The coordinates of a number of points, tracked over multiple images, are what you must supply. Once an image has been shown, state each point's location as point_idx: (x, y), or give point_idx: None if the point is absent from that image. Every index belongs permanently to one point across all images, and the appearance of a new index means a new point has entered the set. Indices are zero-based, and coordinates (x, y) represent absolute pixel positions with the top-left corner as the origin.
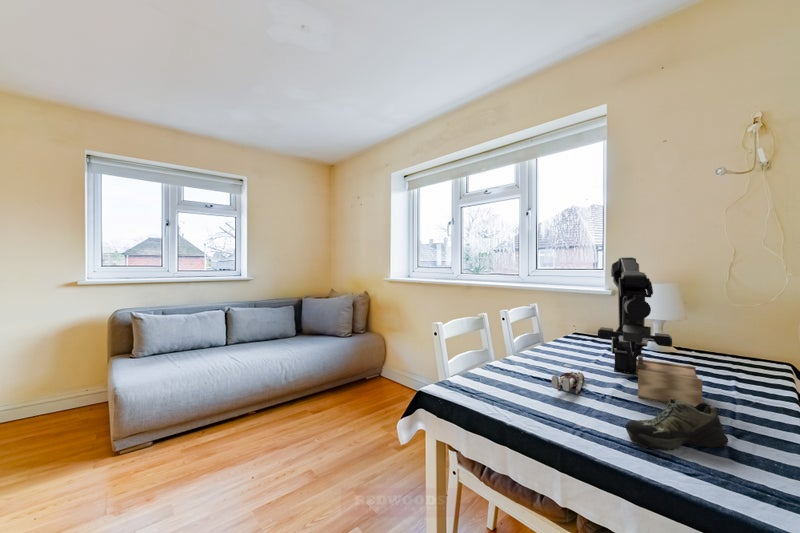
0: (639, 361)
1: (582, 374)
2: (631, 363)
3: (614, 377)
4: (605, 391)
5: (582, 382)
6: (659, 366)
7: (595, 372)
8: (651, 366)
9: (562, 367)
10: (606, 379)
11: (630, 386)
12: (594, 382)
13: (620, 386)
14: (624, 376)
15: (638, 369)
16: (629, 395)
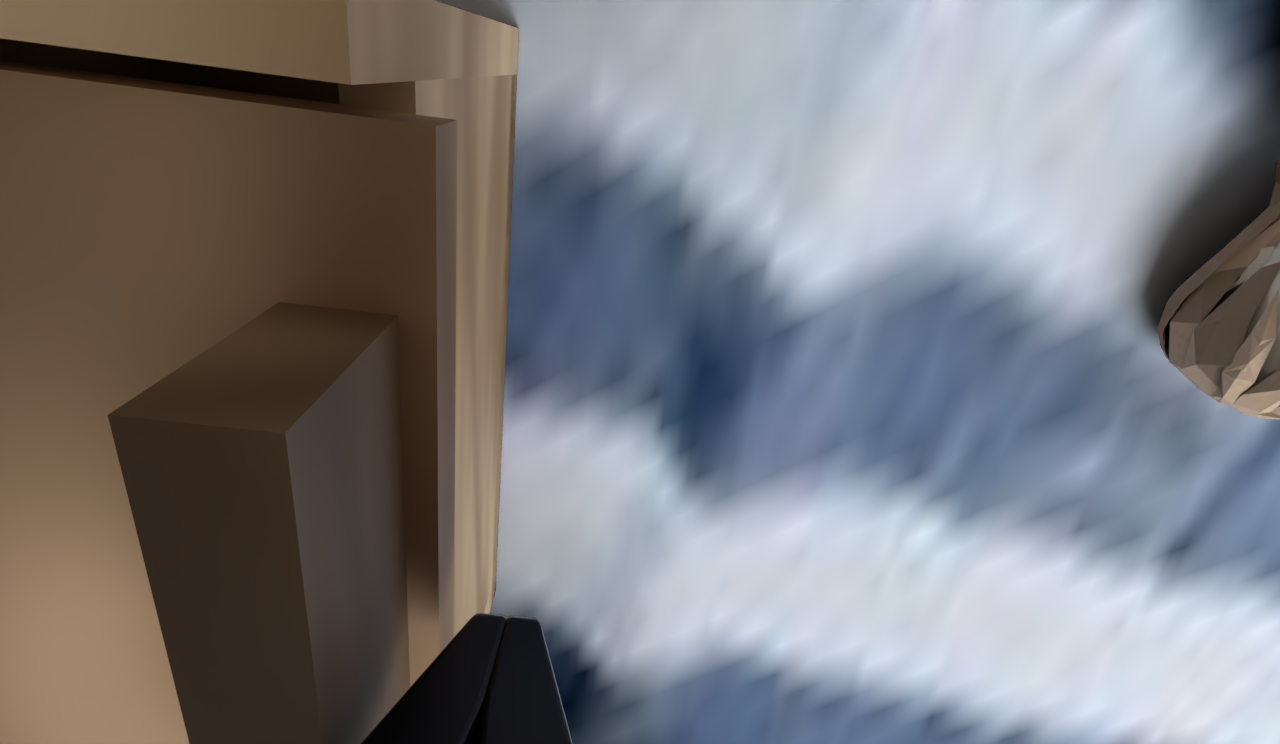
0: (233, 431)
1: (1245, 396)
2: (531, 620)
3: (716, 666)
4: (936, 79)
5: (1203, 266)
6: (35, 738)
7: (886, 728)
8: (158, 674)
9: (1216, 736)
10: (815, 571)
11: (581, 458)
12: (990, 403)
13: (694, 403)
14: (613, 731)
15: (345, 42)
16: (625, 73)
